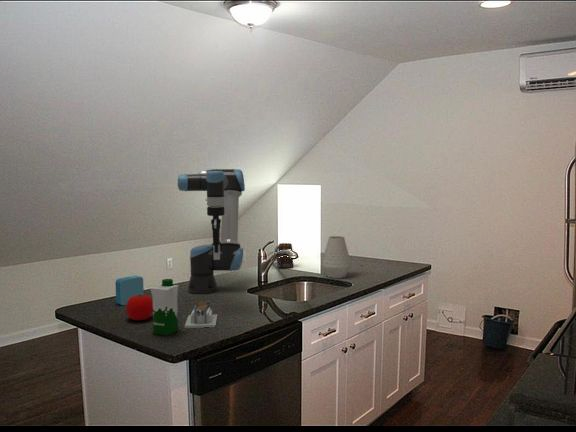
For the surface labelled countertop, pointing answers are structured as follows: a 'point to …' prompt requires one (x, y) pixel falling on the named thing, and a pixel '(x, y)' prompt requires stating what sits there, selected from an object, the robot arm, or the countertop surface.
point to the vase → (336, 258)
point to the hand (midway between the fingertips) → (216, 259)
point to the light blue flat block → (128, 288)
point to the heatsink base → (201, 325)
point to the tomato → (139, 307)
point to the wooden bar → (201, 307)
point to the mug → (284, 257)
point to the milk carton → (165, 308)
